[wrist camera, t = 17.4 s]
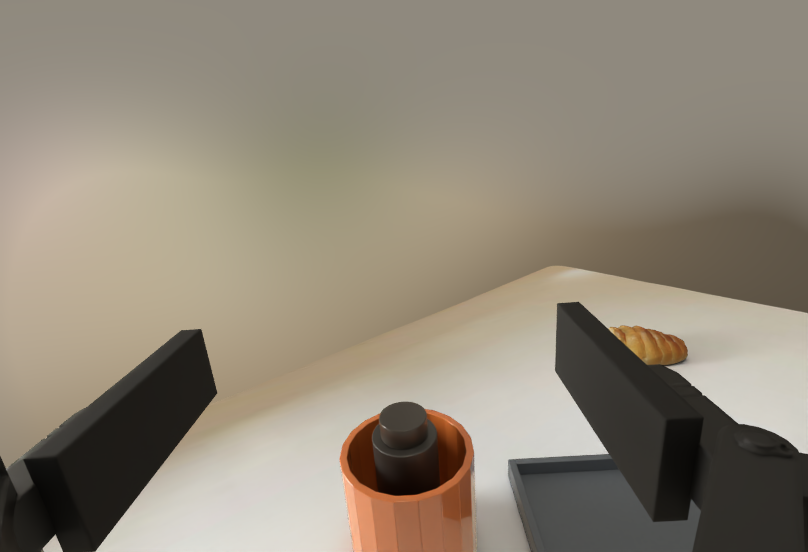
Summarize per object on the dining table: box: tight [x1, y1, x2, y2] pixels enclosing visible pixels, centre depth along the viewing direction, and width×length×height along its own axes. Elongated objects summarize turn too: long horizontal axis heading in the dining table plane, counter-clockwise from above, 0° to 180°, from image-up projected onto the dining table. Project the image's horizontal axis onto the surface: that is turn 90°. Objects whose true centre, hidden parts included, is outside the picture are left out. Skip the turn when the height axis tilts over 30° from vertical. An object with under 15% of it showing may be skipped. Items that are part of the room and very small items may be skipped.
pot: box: [340, 409, 477, 552], centre depth 30 cm, size 9×9×9 cm
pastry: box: [609, 326, 688, 365], centre depth 54 cm, size 9×7×4 cm
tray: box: [508, 454, 701, 552], centre depth 30 cm, size 17×13×2 cm
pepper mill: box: [372, 402, 440, 496], centre depth 29 cm, size 4×4×11 cm
